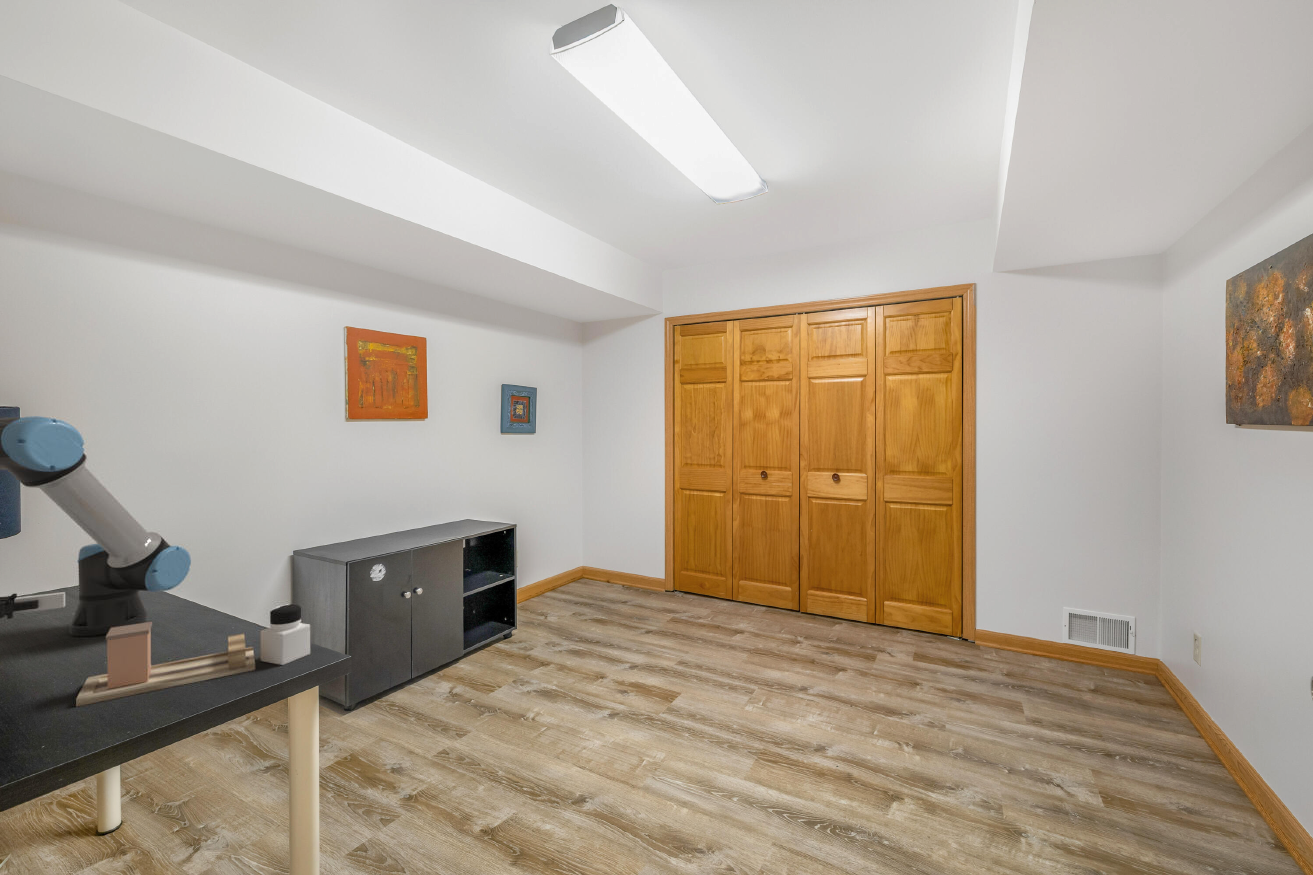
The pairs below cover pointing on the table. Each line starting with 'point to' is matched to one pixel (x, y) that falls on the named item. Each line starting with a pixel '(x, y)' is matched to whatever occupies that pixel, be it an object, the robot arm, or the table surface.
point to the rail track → (175, 673)
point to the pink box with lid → (129, 654)
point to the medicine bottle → (285, 636)
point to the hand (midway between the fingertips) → (64, 599)
